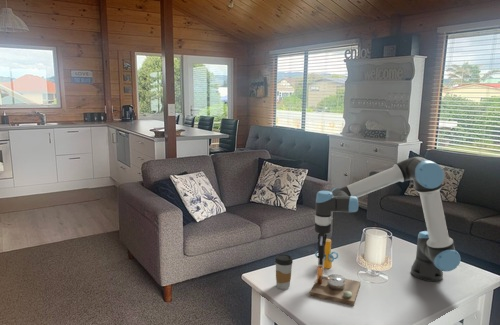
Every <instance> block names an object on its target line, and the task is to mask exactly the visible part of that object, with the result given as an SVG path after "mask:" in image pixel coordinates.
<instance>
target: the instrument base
mask: <svg viewBox="0 0 500 325" xmlns="http://www.w3.org/2000/svg"><path fill="white" fill-rule="evenodd" d="M323 274H324V273H323ZM324 275H326V274H324ZM327 275H328V276H329V275H330V274H327ZM313 283H314V284H313V285H312V287H311V289H310V291H309V297H313V298H314V297H315V298H317V299H323V300H328V301H331V302H336V303H340V304H344V305H350V306H355V304H356V300H357V297H358V294H359V291H360V289H361V288H360V287H361V281H359V280H354V279H349V278H345V288H344V289H343V290H333V289H330V288H329V287H328V286H327V283H328V280H324V279H322V283H318V282H317V279H316V280H315V281H314V282H313Z"/></svg>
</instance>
